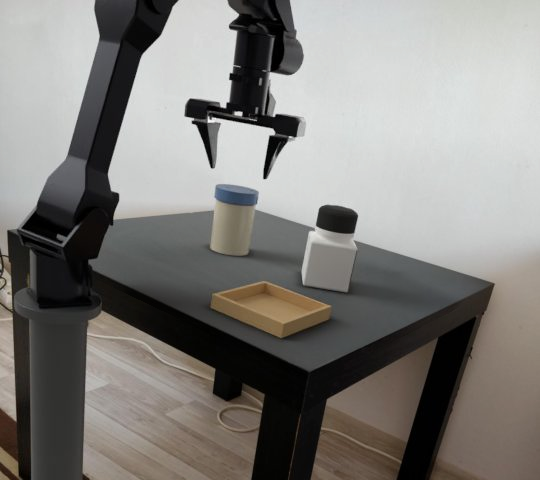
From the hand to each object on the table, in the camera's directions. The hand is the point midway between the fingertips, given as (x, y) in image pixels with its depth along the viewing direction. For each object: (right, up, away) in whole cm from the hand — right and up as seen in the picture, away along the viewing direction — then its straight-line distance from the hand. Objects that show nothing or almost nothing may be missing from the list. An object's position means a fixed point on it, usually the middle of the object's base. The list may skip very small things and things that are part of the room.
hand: (238, 173), depth 96 cm
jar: (-2, -12, +6) cm, 13 cm away
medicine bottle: (+14, -19, -3) cm, 23 cm away
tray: (+5, -25, -20) cm, 32 cm away
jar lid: (0, -3, +1) cm, 3 cm away
